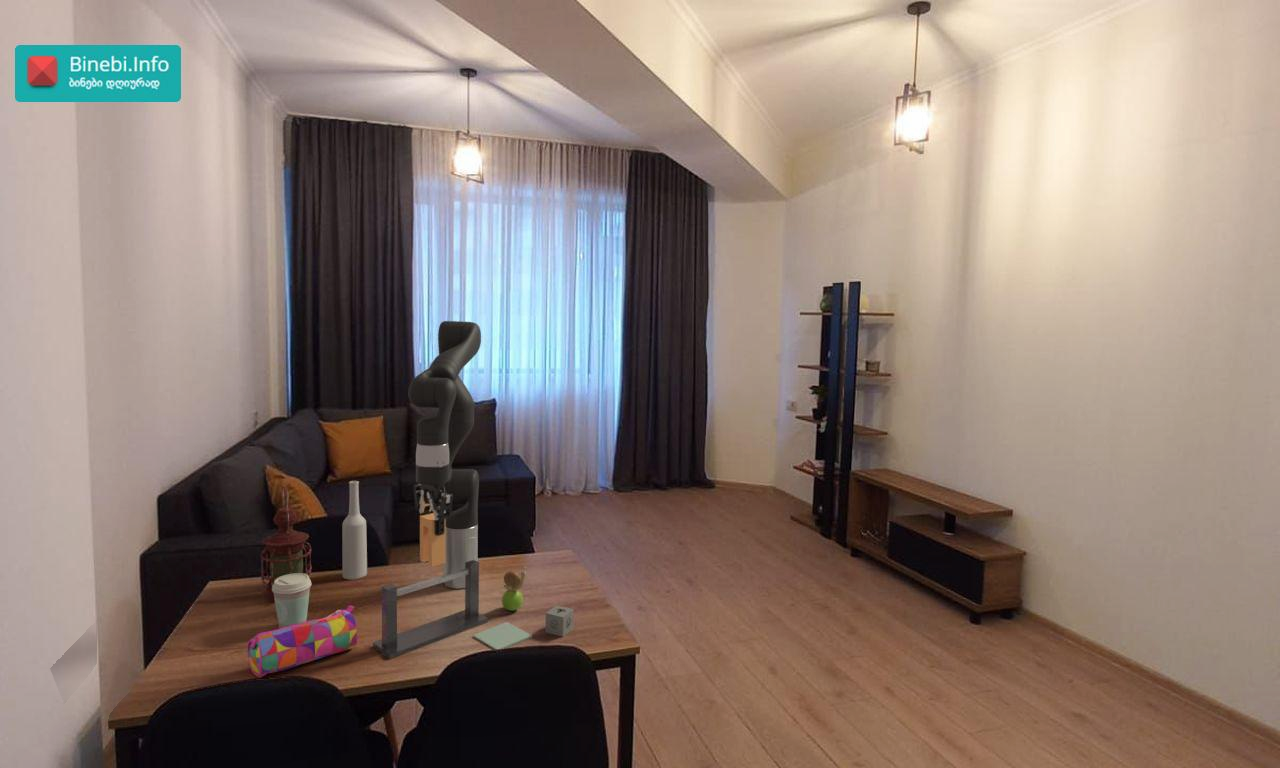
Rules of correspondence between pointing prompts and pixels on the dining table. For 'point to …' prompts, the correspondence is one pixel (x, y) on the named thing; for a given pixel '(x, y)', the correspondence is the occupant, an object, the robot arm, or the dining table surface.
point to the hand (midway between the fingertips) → (432, 531)
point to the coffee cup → (291, 598)
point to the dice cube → (559, 620)
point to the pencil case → (302, 643)
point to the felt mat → (502, 636)
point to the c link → (431, 542)
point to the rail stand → (436, 629)
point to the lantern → (284, 549)
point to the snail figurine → (513, 590)
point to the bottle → (354, 539)
